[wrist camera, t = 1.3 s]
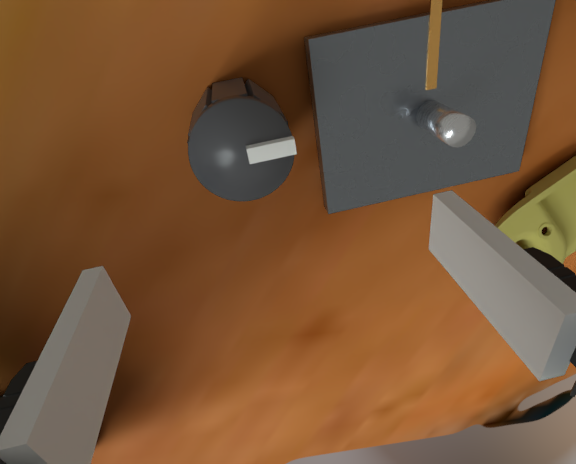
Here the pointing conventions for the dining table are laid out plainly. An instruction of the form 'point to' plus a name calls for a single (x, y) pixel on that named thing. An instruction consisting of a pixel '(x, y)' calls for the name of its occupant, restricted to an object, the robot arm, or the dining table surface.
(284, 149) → the knob
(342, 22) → the dining table surface
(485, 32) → the hub plate
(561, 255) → the plastic component
